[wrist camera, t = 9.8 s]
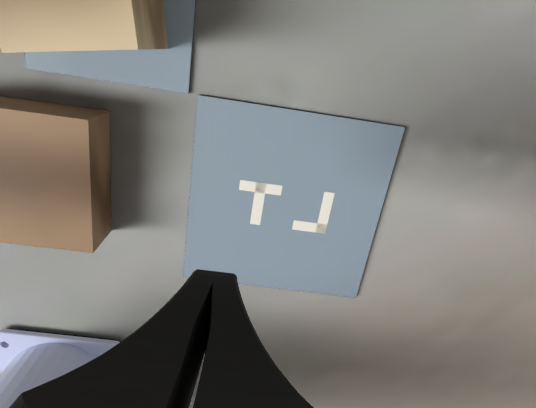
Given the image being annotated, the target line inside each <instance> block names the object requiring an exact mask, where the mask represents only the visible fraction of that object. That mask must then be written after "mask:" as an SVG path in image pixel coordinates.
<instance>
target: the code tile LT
mask: <svg viewBox="0 0 536 408" xmlns="http://www.w3.org/2000/svg"><path fill="white" fill-rule="evenodd" d="M404 130H405V127H402V126H395V125H389V124H382V123H376V122H370V121H363V120H357V119H350V118H344V117H338V116H331V115H325V114H318V113H312V112H305V111H299V110H293V109H286V108H280V107H273V106H267V105H261V104H254V103H248V102H241V101H235V100H228V99H222V98H216V97H209V96H203V95H198V101H197V113H196V125H195V137H194V149H193V161H192V173H191V185H190V197H189V209H188V221H187V233H186V246H185V258H184V270H183V277H187V278H189V277H190V276H191V275H192V273H193V272H194V271H195V270H197V269H200V270H209V271H217V272H225V273H234V274H235V275H236V276H237V281H238V284H245V285H253V286H261V287H269V288H278V289H286V290H294V291H302V292H311V293H319V294H327V295H336V296H344V297H352V298H356V296H357V292H358V289H359V285H360V282H361V279H362V275H363V272H364V268H365V265H366V261H367V258H368V254H369V251H370V247H371V244H372V240H373V237H374V234H375V230H376V227H377V223H378V220H379V216H380V213H381V209H382V206H383V202H384V199H385V195H386V192H387V188H388V185H389V182H390V178H391V175H392V171H393V168H394V164H395V161H396V157H397V154H398V150H399V147H400V143H401V140H402V137H403V133H404Z"/></svg>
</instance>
